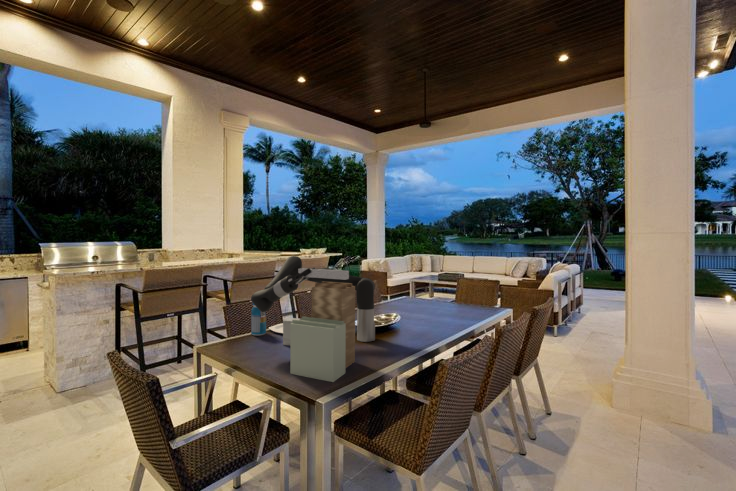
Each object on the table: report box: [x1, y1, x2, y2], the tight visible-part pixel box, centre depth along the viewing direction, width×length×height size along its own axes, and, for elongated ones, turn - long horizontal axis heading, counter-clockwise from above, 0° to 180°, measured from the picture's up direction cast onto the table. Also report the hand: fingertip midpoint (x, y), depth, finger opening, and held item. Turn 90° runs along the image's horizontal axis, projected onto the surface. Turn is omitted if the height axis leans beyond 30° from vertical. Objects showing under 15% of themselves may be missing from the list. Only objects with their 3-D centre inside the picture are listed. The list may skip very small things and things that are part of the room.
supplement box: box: [282, 317, 302, 346], centre depth 185 cm, size 7×7×13 cm
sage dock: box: [289, 315, 346, 383], centre depth 145 cm, size 20×10×22 cm, turn 65°
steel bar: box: [298, 267, 350, 280], centre depth 157 cm, size 24×4×4 cm, turn 66°
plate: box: [268, 322, 283, 335], centre depth 213 cm, size 27×27×2 cm
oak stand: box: [311, 282, 356, 369], centre depth 156 cm, size 15×12×36 cm
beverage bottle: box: [250, 303, 267, 337], centre depth 203 cm, size 8×8×20 cm
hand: (312, 269), depth 160 cm, fingers closed on steel bar, 3 cm apart
